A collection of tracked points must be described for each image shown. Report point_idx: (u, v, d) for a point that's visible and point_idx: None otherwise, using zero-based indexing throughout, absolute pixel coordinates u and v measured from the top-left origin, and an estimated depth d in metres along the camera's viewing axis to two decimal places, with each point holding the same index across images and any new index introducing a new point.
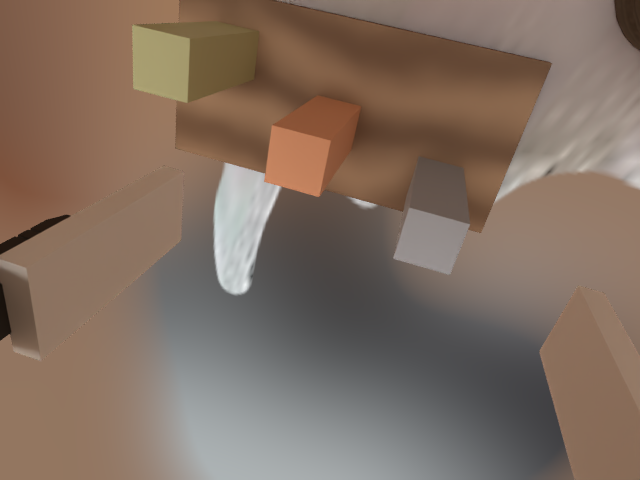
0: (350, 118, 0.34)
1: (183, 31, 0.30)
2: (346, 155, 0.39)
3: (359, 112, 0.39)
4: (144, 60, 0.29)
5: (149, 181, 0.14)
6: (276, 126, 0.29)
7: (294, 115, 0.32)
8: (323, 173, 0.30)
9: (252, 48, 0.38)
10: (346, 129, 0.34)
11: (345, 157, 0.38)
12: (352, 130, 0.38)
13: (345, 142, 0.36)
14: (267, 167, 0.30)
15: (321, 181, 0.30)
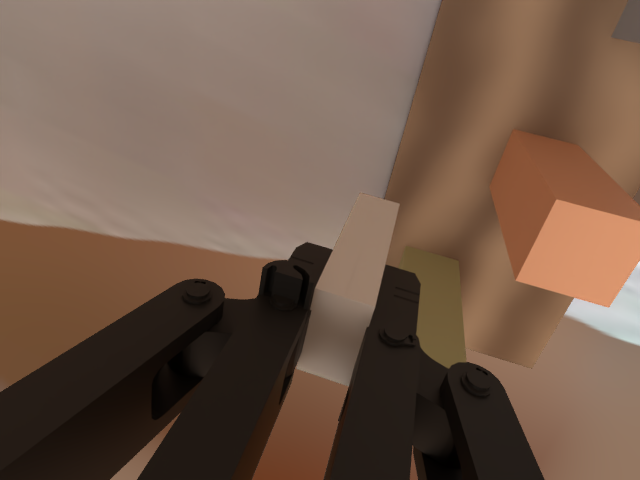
0: (527, 151, 0.24)
1: None
2: (586, 155, 0.25)
3: (521, 131, 0.28)
4: None
5: (362, 209, 0.15)
6: (518, 274, 0.20)
7: (508, 236, 0.23)
8: (615, 215, 0.17)
9: (422, 258, 0.32)
10: (543, 159, 0.23)
11: (589, 158, 0.25)
12: (547, 145, 0.26)
13: (564, 160, 0.24)
14: (584, 298, 0.19)
15: (630, 220, 0.17)
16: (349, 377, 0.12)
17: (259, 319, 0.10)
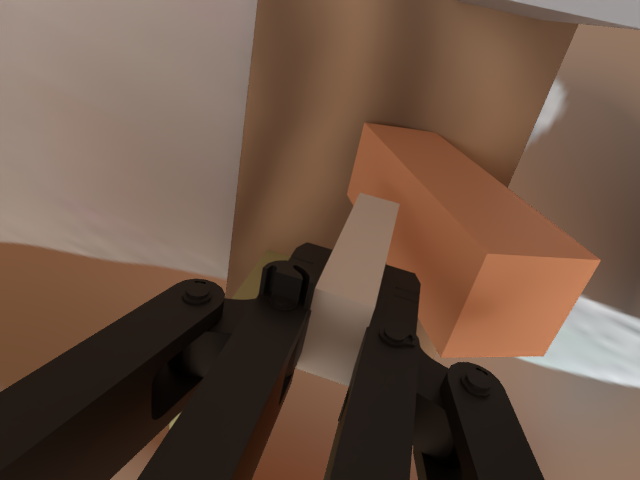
0: (400, 160, 0.18)
1: None
2: (453, 148, 0.21)
3: (375, 125, 0.22)
4: None
5: (362, 209, 0.15)
6: (443, 349, 0.14)
7: None
8: (553, 257, 0.13)
9: None
10: (423, 170, 0.18)
11: (458, 151, 0.21)
12: (410, 141, 0.21)
13: (441, 164, 0.19)
14: (518, 354, 0.15)
15: (569, 260, 0.13)
16: (349, 377, 0.12)
17: (259, 319, 0.10)
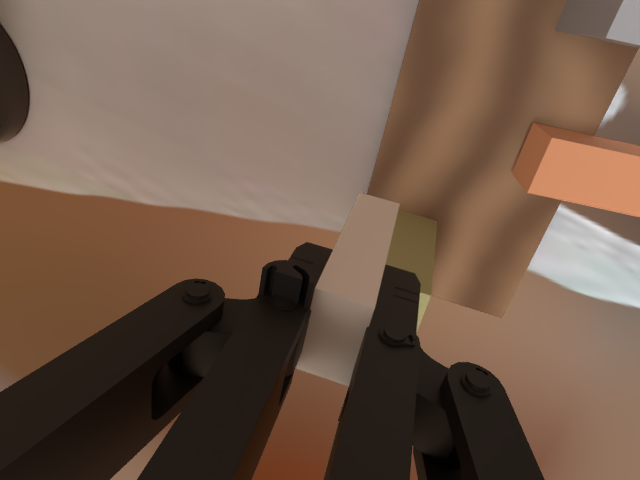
0: (628, 154, 0.29)
1: None
2: (567, 130, 0.33)
3: (553, 136, 0.30)
4: None
5: (362, 209, 0.15)
6: None
7: None
8: None
9: (406, 218, 0.38)
10: (635, 153, 0.30)
11: (572, 131, 0.33)
12: (576, 138, 0.31)
13: (611, 144, 0.31)
14: None
15: None
16: (349, 377, 0.12)
17: (259, 319, 0.10)
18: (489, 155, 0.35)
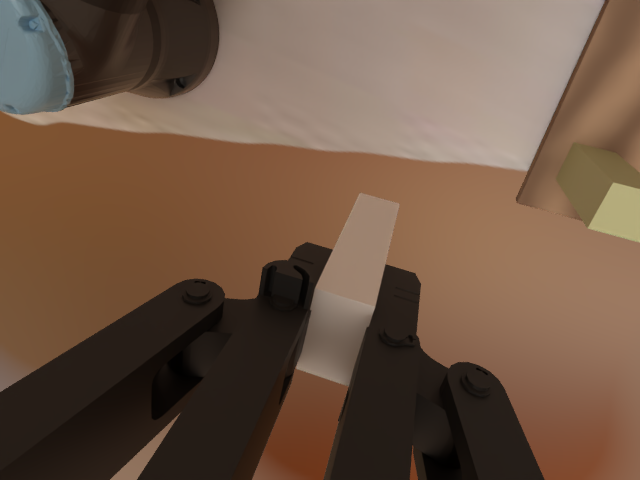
0: None
1: (594, 192, 0.36)
2: None
3: None
4: (619, 226, 0.35)
5: (362, 209, 0.15)
6: None
7: None
8: None
9: (591, 149, 0.43)
10: None
11: None
12: None
13: None
14: None
15: None
16: (349, 377, 0.12)
17: (259, 319, 0.10)
18: None
